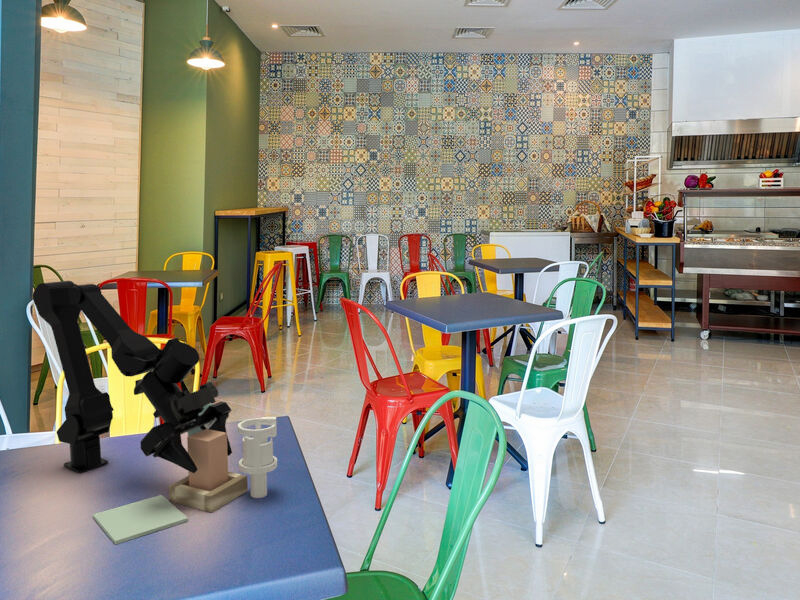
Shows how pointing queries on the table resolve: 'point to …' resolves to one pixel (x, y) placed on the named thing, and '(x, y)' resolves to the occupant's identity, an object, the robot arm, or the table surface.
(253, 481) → the white flanged cylinder housing
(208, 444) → the block
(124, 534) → the mat
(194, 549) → the table surface
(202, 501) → the pocket frame
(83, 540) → the table surface
